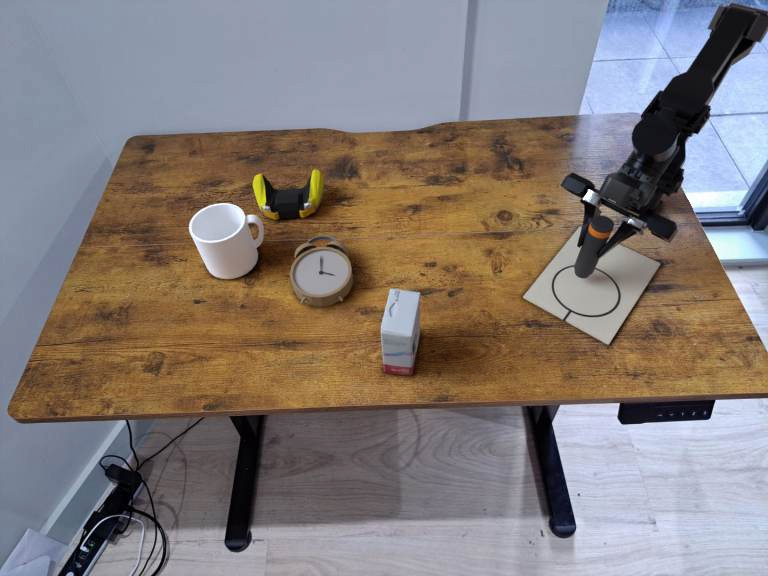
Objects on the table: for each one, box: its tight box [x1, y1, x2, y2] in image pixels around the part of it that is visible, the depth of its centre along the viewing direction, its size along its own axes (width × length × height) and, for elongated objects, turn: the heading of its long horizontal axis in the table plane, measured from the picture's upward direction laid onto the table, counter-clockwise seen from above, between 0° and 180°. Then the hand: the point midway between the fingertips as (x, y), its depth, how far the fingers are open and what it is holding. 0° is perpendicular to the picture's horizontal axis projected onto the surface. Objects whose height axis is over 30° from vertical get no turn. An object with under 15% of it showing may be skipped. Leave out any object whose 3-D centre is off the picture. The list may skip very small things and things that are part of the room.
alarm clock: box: [289, 234, 354, 307], centre depth 94 cm, size 11×5×15 cm
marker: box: [574, 214, 615, 278], centre depth 86 cm, size 4×4×12 cm
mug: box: [188, 202, 265, 280], centre depth 95 cm, size 13×10×10 cm
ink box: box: [380, 288, 421, 377], centre depth 80 cm, size 9×5×12 cm, turn 168°
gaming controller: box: [252, 168, 326, 221], centre depth 106 cm, size 15×6×10 cm
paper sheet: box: [522, 225, 661, 346], centre depth 92 cm, size 22×16×1 cm
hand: (588, 252), depth 85 cm, fingers closed on marker, 3 cm apart
